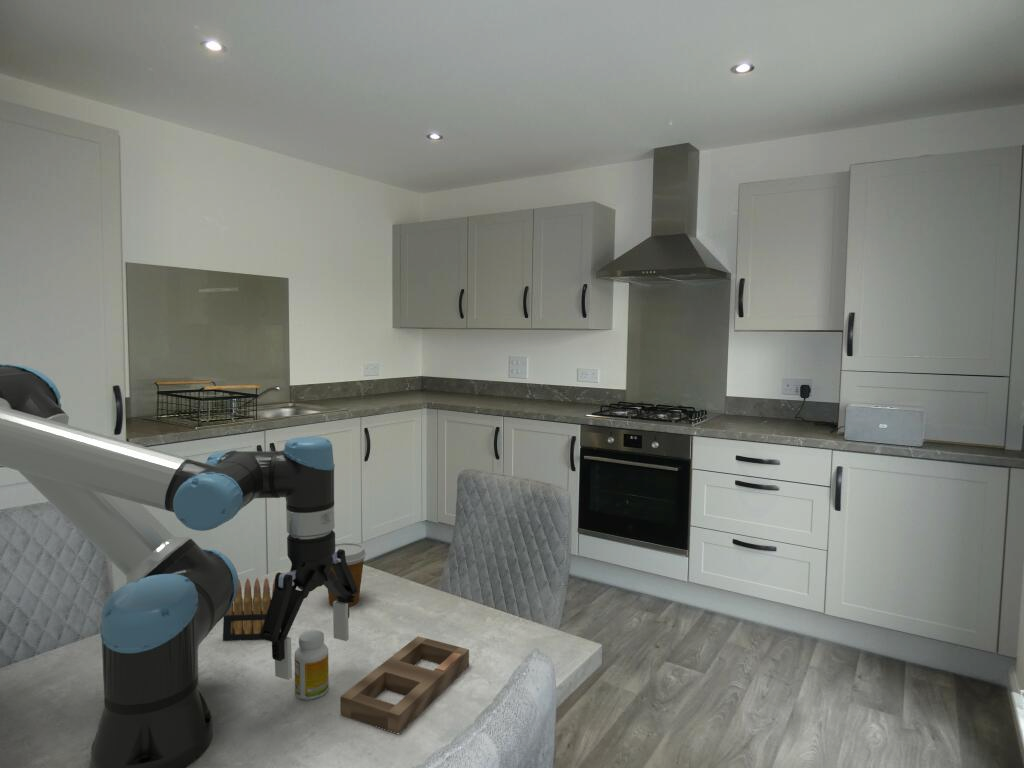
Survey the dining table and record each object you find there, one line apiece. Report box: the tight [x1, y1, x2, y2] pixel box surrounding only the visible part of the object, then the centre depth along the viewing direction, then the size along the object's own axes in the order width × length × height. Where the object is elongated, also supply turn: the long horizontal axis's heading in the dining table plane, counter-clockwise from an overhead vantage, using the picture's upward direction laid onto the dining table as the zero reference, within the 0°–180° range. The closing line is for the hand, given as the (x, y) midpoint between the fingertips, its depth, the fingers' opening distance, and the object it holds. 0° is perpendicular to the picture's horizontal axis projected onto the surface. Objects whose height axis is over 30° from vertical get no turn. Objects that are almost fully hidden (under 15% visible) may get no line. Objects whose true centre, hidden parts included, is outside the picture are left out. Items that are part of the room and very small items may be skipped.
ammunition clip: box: [222, 577, 281, 642], centre depth 122 cm, size 11×2×12 cm, turn 97°
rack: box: [339, 635, 470, 734], centre depth 106 cm, size 22×11×3 cm, turn 155°
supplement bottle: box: [293, 629, 330, 701], centre depth 105 cm, size 5×5×10 cm
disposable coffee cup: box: [327, 542, 367, 608], centre depth 139 cm, size 10×10×12 cm
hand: (314, 656), depth 105 cm, fingers open, 13 cm apart
